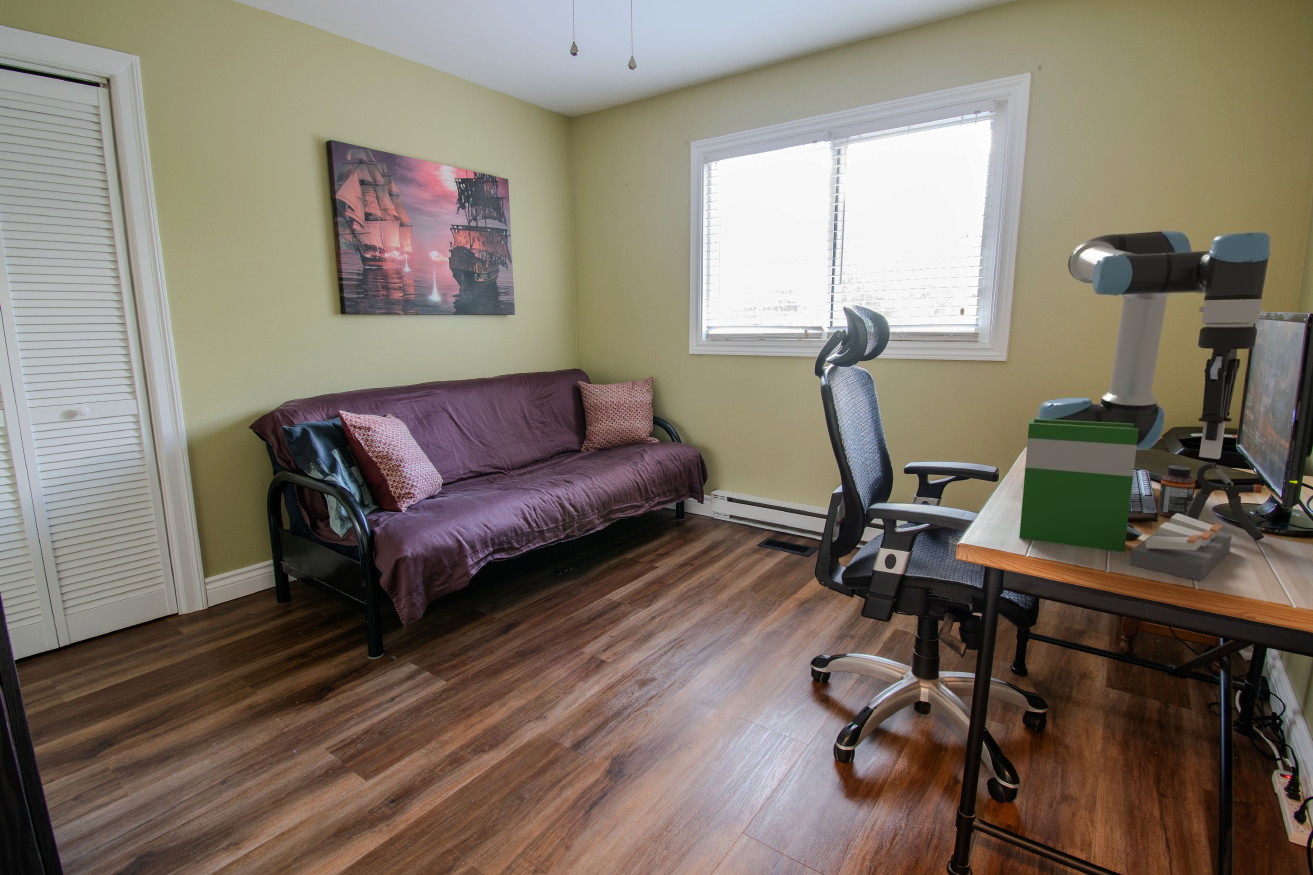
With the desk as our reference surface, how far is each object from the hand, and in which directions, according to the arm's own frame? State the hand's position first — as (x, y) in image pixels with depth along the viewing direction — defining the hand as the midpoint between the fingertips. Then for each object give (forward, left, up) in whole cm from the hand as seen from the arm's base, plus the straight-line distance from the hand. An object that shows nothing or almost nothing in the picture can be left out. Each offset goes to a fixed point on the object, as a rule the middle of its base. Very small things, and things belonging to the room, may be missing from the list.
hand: (1209, 457), depth 116 cm
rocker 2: (-5, -2, -15) cm, 16 cm away
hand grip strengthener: (-19, 0, -20) cm, 27 cm away
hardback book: (+6, -19, -19) cm, 28 cm away
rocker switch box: (0, -2, -19) cm, 19 cm away
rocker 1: (+10, -2, -15) cm, 18 cm away
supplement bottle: (-29, -10, -19) cm, 36 cm away
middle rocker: (+2, -2, -15) cm, 15 cm away
